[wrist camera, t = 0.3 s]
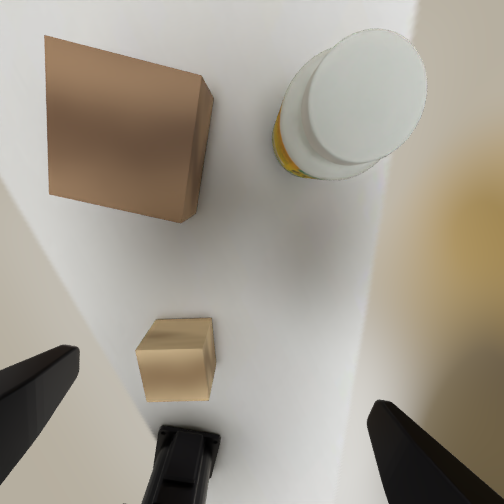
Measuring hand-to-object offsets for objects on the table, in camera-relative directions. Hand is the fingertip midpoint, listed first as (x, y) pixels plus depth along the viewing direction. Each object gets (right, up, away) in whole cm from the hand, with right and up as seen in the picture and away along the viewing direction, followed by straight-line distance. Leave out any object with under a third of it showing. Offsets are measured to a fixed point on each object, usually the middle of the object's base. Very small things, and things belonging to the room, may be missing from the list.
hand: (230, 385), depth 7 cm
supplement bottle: (+5, +12, +10) cm, 16 cm away
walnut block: (-7, +12, +10) cm, 17 cm away
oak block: (-5, -4, +15) cm, 17 cm away
